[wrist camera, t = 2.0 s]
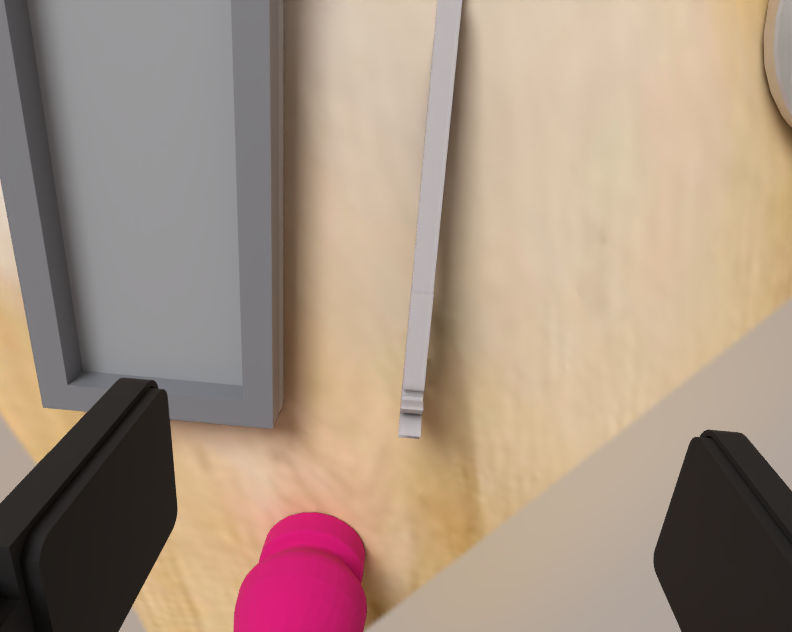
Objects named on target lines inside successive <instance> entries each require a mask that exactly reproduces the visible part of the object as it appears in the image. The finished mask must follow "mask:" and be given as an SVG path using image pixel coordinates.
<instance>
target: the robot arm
mask: <svg viewBox="0 0 792 632" xmlns="http://www.w3.org/2000/svg"><path fill="white" fill-rule="evenodd" d="M764 66H765V70H766V74H767V79H768V83H769V87H770V92H771V94H772V96H773V98H774V100H775V103H776V105H777V107H778V109H779V111H780V113H781V115H782V117H783V118H784V119H785V120H786V122H787V123H788V124H789V125H790V127H791V128H792V0H769V3H768V10H767V16H766V22H765V29H764ZM176 517H177V498H176V486H175V474H174V463H173V451H172V439H171V428H170V416H169V405H168V395H167V392H166V390H164V389H159V388H158V385H157V383H156V382H155V381H154V380H146V379H135V378H120V379H118V380H117V381H116V382H115V383H114V384H113V385H112V386H111V387H110V389H109V390H108V391H107V392H106V393H105V394H104V395H103V396H102V397H101V398H100V399H99V400H98V401H97V402H96V403H95V404H94V405H93V407H92V408H91V409H90V410H89V411H88V412H87V413H86V414H85V415H84V416H83V417H82V418H81V419H80V420H79V421H78V422H77V423H76V425H75V426H74V427H73V428H72V429H71V430H70V431H69V432H68V433H67V434H66V435H65V436H64V437H63V438H62V439H61V440H60V441H59V443H58V444H57V445H56V446H55V447H54V448H53V449H52V450H51V451H50V452H49V453H48V454H47V455H46V456H45V457H44V458H43V459H42V460H41V461H40V462H39V463H38V464H37V465H36V466H35V467H34V468H33V470H32V471H31V472H30V473H29V474H28V475H27V476H26V477H25V478H24V479H23V480H22V481H21V482H20V483H19V484H18V485H17V486H16V487H15V489H14V490H13V491H12V492H11V493H10V494H9V495H8V496H7V497H6V498H5V499H4V500H3V501H2V502H1V503H0V632H118V631H119V630H120V628H121V626H122V624H123V622H124V620H125V618H126V616H127V615H128V613H129V611H130V609H131V607H132V605H133V603H134V601H135V599H136V598H137V596H138V594H139V592H140V590H141V588H142V586H143V584H144V583H145V581H146V579H147V577H148V575H149V573H150V571H151V569H152V567H153V566H154V564H155V562H156V560H157V558H158V556H159V554H160V552H161V551H162V549H163V547H164V545H165V543H166V541H167V539H168V537H169V535H170V534H171V532H172V530H173V527H174V525H175V522H176ZM654 568H655V572H656V575H657V577H658V579H659V582H660V584H661V586H662V588H663V591H664V593H665V595H666V597H667V600H668V602H669V604H670V606H671V609H672V611H673V613H674V615H675V618H676V620H677V622H678V624H679V627H680V629H681V631H682V632H792V491H791V490H790V489H789V487H788V486H787V485H786V484H785V483H784V481H783V480H782V479H781V478H780V477H779V476H778V474H777V473H776V472H775V471H774V469H773V468H772V467H771V466H770V465H769V464H768V462H767V461H766V460H765V459H764V458H763V456H762V455H761V454H760V453H759V452H758V450H757V449H756V448H755V447H754V446H753V444H752V443H751V442H750V441H749V440H748V439H747V437H746V436H745V435H743V434H742V433H738V432H727V431H716V430H706V431H704V432H703V433H702V434H701V435H700V437H694V438H693V439H692V440H691V442H690V444H689V447H688V450H687V453H686V456H685V459H684V463H683V465H682V468H681V471H680V474H679V477H678V481H677V484H676V487H675V490H674V493H673V496H672V499H671V502H670V505H669V508H668V511H667V514H666V517H665V521H664V523H663V527H662V530H661V533H660V536H659V539H658V542H657V545H656V548H655V552H654Z"/></svg>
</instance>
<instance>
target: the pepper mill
mask: <svg viewBox="0 0 792 632" xmlns="http://www.w3.org/2000/svg"><path fill="white" fill-rule="evenodd" d="M364 562H365V550H364V546H363V543H362V541H361V539H360V537H359V536H358V535H357V533H356V532H355V531H354V529H352V528H351V527H350V526H349V525H347V524H346V523H345V522H343V521H341V520H339V519H337V518H335V517H333V516H330V515H326V514H321V513H317V512H312V513H299V514H295V515H291V516H288V517H286V518H284V519H283V520H281V521H279V522H278V523H277V524H276V525H274V527H273V528H272V529H271V530H270V532H269V533H268V535H267V538H266V540H265V544H264V547H263V550H262V553H261V556H260V559H259V563H258V564H257V565H256V566H255V567H254V568H253V569H252V570H251V571H250V572H249V573H248V574H247V576H246V577H245V579H244V581H243V583H242V585H241V587H240V590H239V594H238V598H237V602H236V607H235V612H234V632H363V630H364V625H365V620H366V614H367V604H366V597H365V593H364V590H363V588H362V586H361V582H362V577H363V569H364Z"/></svg>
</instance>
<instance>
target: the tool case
mask: <svg viewBox="0 0 792 632" xmlns="http://www.w3.org/2000/svg"><path fill="white" fill-rule="evenodd" d="M0 180H1V185H2V190H3V196H4V201H5V207H6V212H7V217H8V223H9V228H10V233H11V239H12V244H13V249H14V255H15V260H16V265H17V271H18V276H19V281H20V287H21V292H22V298H23V303H24V308H25V314H26V319H27V324H28V330H29V335H30V340H31V346H32V351H33V356H34V362H35V367H36V372H37V378H38V383H39V389H40V394H41V399H42V405H43V408H53V409H63V410H74V411H85V412H88V411H89V410H90V409H91V408H92V407H93V405H94V404H95V403H96V402H97V401H98V400H99V399H100V398H101V397H102V396H103V395H104V394H105V393H106V392H107V391H108V390H109V389H110V387H111V386H112V385H113V384H114V383H115V382H116V381H117V380H118V379H120V378H135V379H146V380H154V381H155V382H156V383H157V385H158V388H159V389H164V390H166V392H167V395H168V405H169V416H170V420H181V421H192V422H203V423H213V424H224V425H235V426H246V427H256V428H267V429H273V427H274V425H275V423H276V420H277V418H278V415H279V413H280V411H281V408H282V406H283V403H284V0H0Z"/></svg>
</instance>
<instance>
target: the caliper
mask: <svg viewBox="0 0 792 632" xmlns="http://www.w3.org/2000/svg"><path fill="white" fill-rule="evenodd" d="M461 8H462V0H437V11H436V22H435V33H434V44H433V55H432V66H431V78H430V89H429V100H428V111H427V122H426V133H425V144H424V155H423V166H422V177H421V188H420V199H419V211H418V222H417V233H416V244H415V255H414V266H413V277H412V287H411V298H410V309H409V320H408V332H407V343H406V353H405V362H404V376H403V385H402V395H401V408H400V420H399V434H398V437H403V438H414V439H419V437H421V420H422V415H421V414H422V413H423V393H424V387H425V377H426V367H427V356H428V346H429V336H430V326H431V316H432V306H433V291H434V281H435V271H436V261H437V251H438V241H439V231H440V220H441V210H442V200H443V190H444V180H445V170H446V160H447V150H448V140H449V129H450V119H451V109H452V99H453V89H454V79H455V69H456V58H457V48H458V38H459V28H460V18H461Z"/></svg>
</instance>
